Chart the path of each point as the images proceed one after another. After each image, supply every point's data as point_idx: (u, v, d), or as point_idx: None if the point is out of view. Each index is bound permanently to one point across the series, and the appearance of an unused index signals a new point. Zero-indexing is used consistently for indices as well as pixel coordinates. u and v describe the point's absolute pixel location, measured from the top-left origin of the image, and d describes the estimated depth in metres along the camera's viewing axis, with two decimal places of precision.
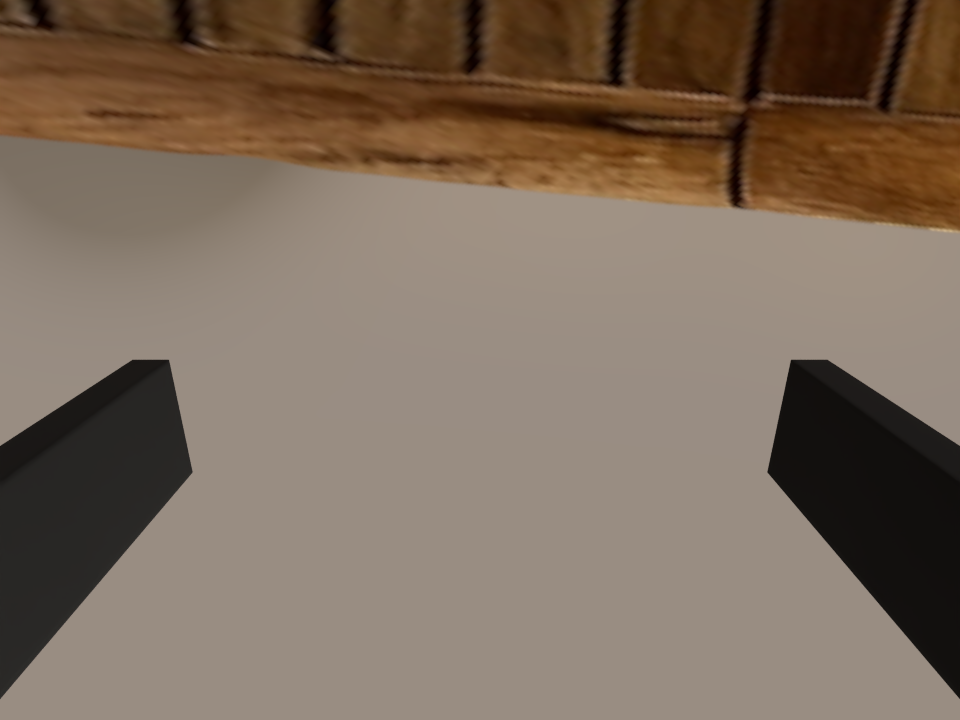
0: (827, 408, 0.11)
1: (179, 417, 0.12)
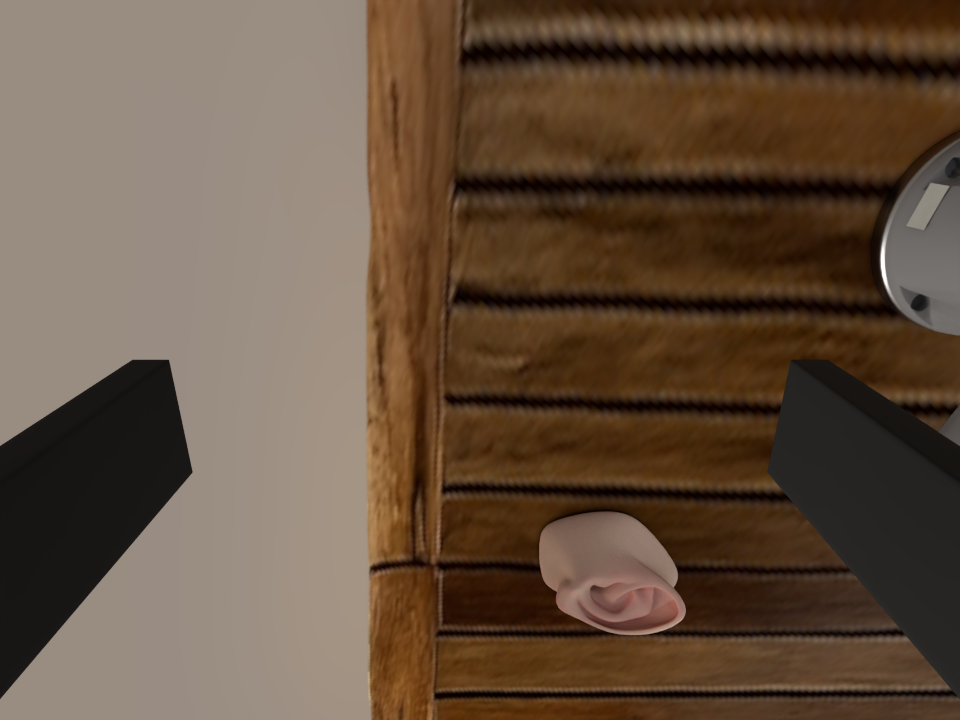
0: (827, 407, 0.11)
1: (178, 417, 0.12)
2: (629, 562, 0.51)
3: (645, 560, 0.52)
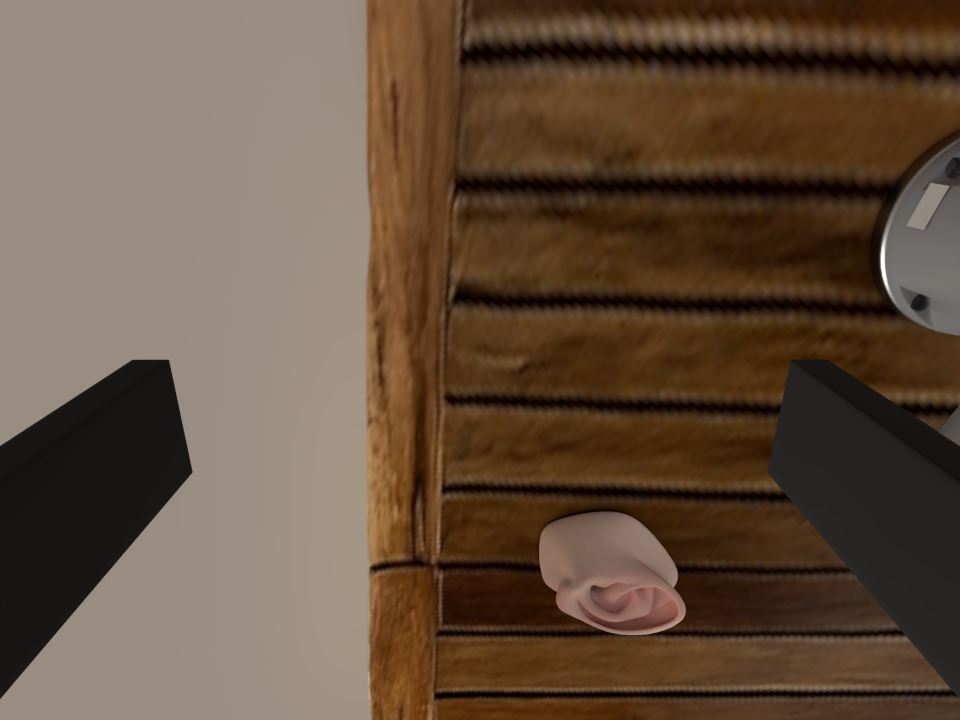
0: (827, 407, 0.11)
1: (178, 417, 0.12)
2: (629, 562, 0.51)
3: (645, 560, 0.52)
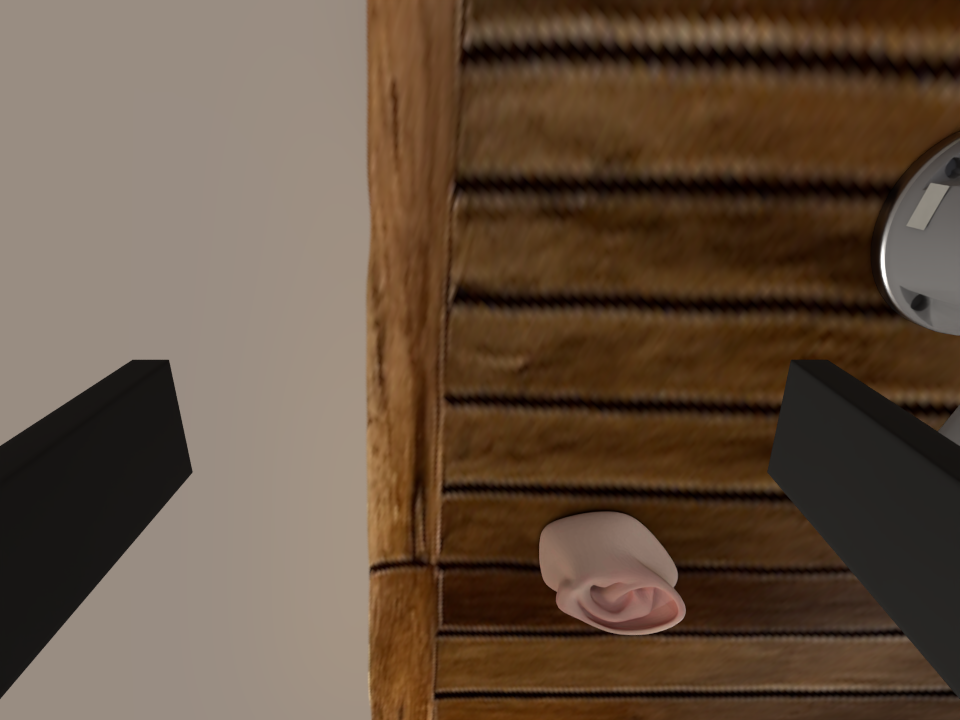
0: (827, 407, 0.11)
1: (178, 417, 0.12)
2: (629, 562, 0.51)
3: (645, 560, 0.52)
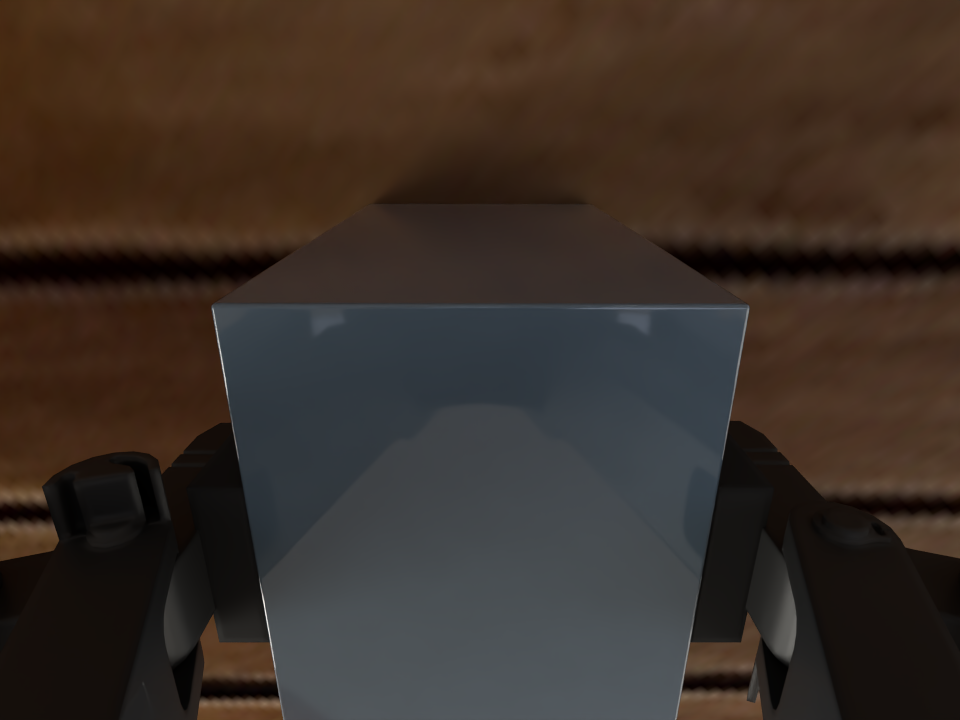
0: None
1: None
2: None
3: None
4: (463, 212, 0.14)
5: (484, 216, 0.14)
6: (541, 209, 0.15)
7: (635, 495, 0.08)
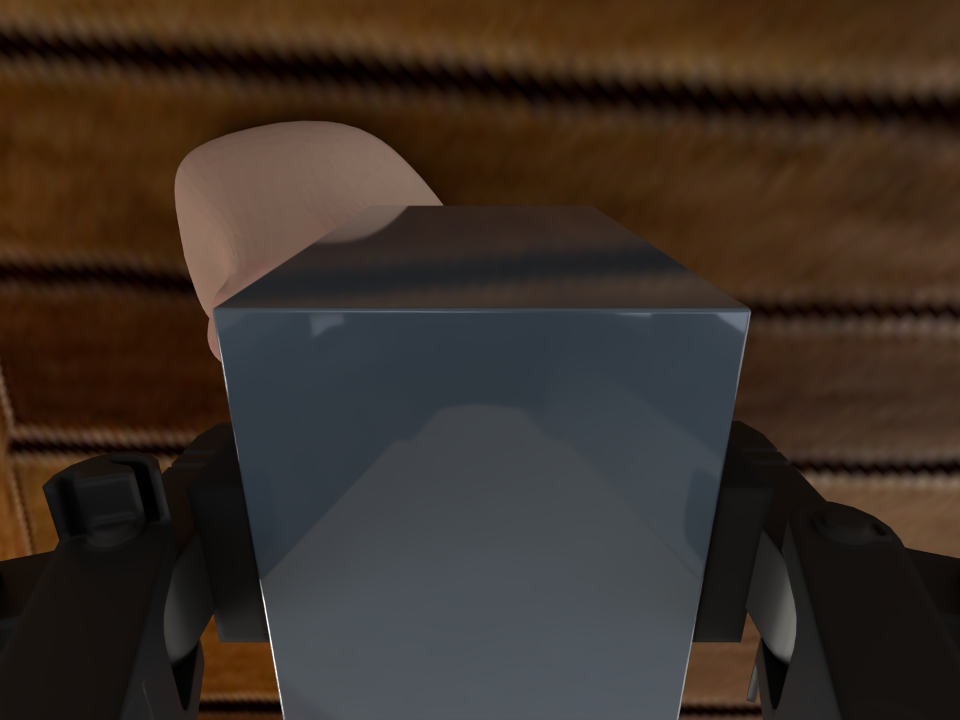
0: None
1: None
2: None
3: None
4: (463, 214, 0.14)
5: (485, 218, 0.14)
6: (541, 211, 0.15)
7: (635, 499, 0.08)
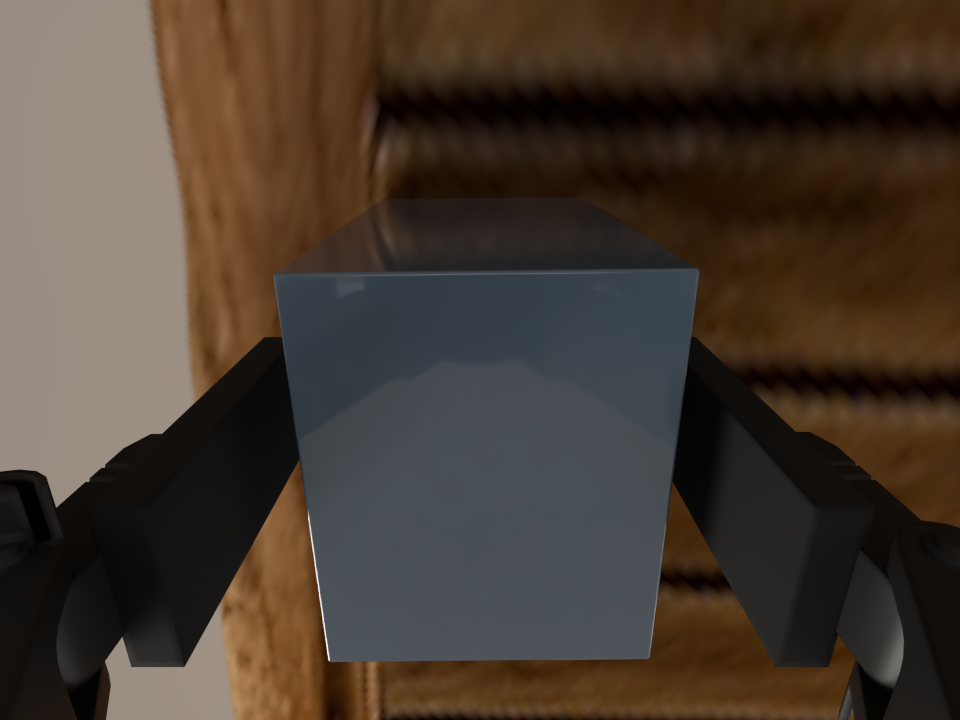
0: None
1: None
2: None
3: None
4: (467, 205, 0.16)
5: (486, 208, 0.15)
6: (537, 202, 0.17)
7: (612, 428, 0.09)
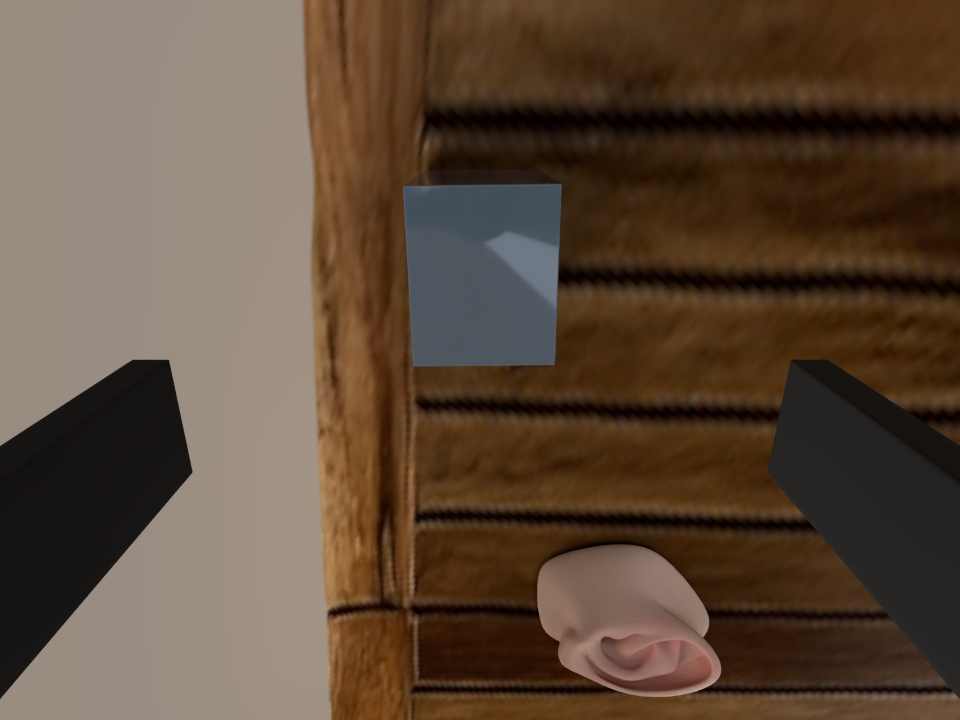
0: (827, 408, 0.11)
1: (179, 417, 0.12)
2: (650, 608, 0.41)
3: (670, 605, 0.42)
4: (473, 171, 0.31)
5: (483, 172, 0.30)
6: (510, 170, 0.31)
7: (532, 250, 0.24)
